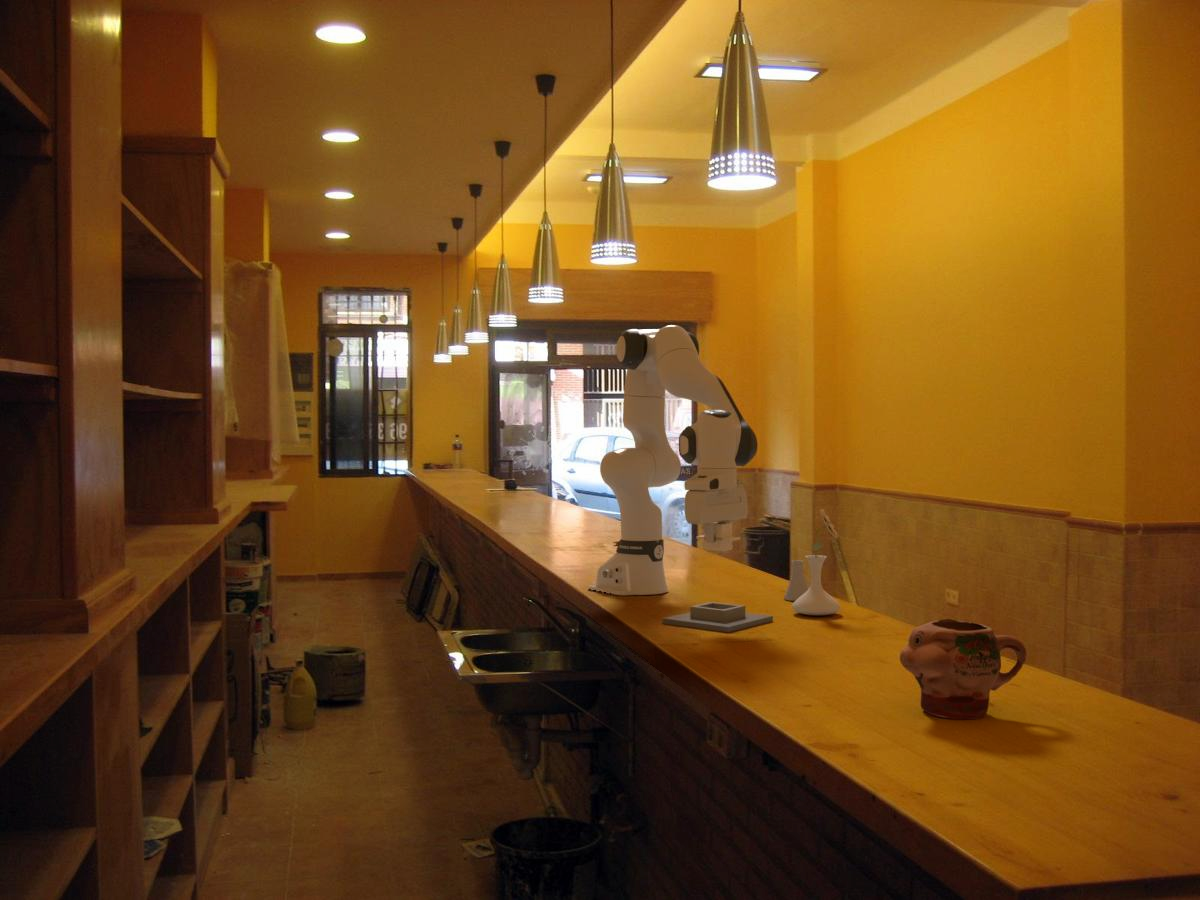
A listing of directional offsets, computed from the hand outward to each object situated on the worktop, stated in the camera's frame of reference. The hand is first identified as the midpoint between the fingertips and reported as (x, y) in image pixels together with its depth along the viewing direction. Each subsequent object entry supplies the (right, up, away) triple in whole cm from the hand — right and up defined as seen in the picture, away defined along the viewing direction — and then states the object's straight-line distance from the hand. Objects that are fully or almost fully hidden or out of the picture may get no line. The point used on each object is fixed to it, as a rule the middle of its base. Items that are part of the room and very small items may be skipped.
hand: (717, 541), depth 260 cm
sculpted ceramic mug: (+30, -21, -81) cm, 89 cm away
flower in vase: (+25, -18, +11) cm, 33 cm away
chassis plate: (0, -19, 0) cm, 19 cm away
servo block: (0, -2, 0) cm, 2 cm away
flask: (+24, -18, +33) cm, 44 cm away
